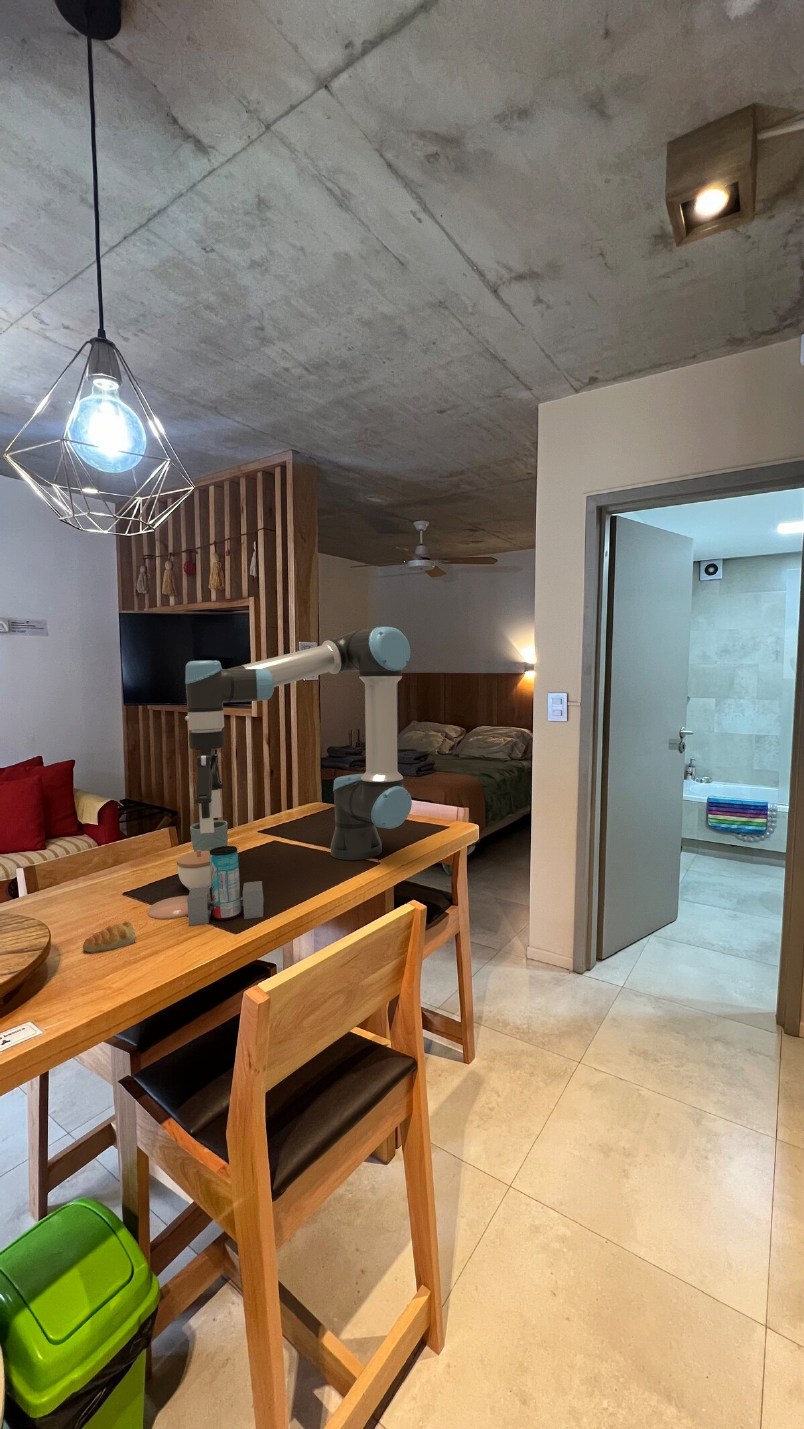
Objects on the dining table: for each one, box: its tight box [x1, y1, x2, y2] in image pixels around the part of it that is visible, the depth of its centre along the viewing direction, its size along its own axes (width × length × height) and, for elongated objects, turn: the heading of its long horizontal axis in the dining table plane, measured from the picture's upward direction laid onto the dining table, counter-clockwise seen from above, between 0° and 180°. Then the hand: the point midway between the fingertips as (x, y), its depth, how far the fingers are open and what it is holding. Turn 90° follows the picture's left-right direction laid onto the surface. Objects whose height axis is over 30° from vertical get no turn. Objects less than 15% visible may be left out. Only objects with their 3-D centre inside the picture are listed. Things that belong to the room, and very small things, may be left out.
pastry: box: [82, 920, 137, 954], centre depth 118 cm, size 9×7×4 cm
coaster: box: [147, 895, 188, 920], centre depth 136 cm, size 12×12×1 cm
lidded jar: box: [176, 850, 212, 891], centre depth 149 cm, size 11×11×9 cm
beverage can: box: [210, 845, 242, 921], centre depth 130 cm, size 6×6×15 cm
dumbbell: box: [187, 880, 264, 926], centre depth 132 cm, size 16×9×6 cm, turn 102°
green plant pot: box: [189, 819, 229, 852], centre depth 165 cm, size 10×10×12 cm
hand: (211, 824), depth 132 cm, fingers open, 13 cm apart
